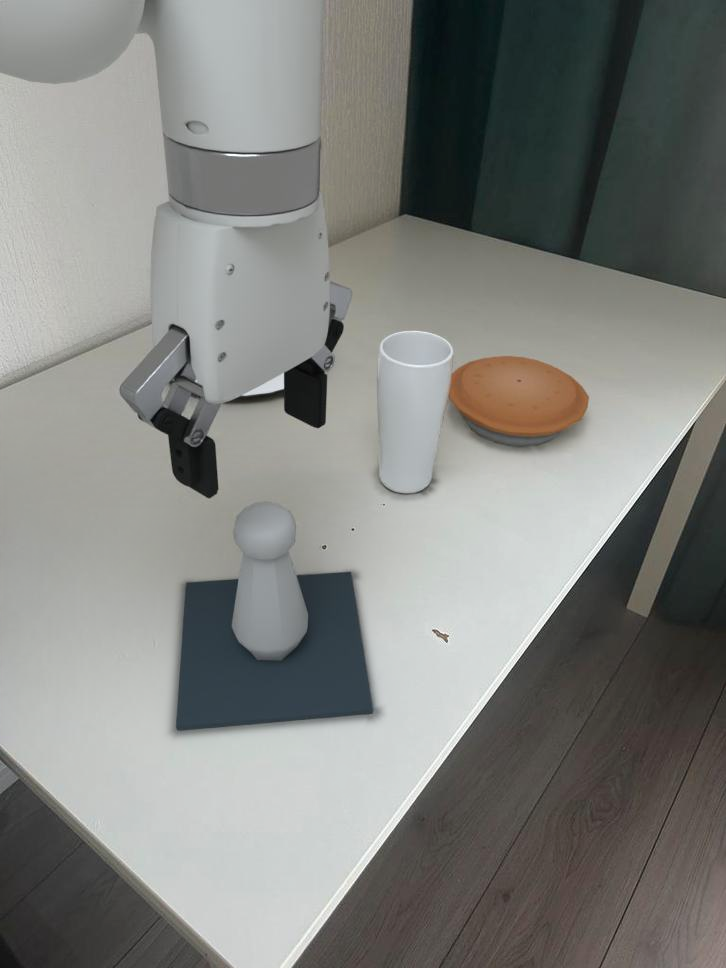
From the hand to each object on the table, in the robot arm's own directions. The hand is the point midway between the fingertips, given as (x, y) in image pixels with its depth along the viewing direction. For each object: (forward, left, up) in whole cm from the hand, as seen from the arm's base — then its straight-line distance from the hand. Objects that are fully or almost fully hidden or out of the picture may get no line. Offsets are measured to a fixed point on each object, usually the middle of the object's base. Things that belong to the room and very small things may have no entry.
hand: (253, 450), depth 49 cm
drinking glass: (+15, +20, -19) cm, 31 cm away
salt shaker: (0, 0, -19) cm, 19 cm away
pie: (+29, +30, -19) cm, 46 cm away
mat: (0, 0, -19) cm, 19 cm away
